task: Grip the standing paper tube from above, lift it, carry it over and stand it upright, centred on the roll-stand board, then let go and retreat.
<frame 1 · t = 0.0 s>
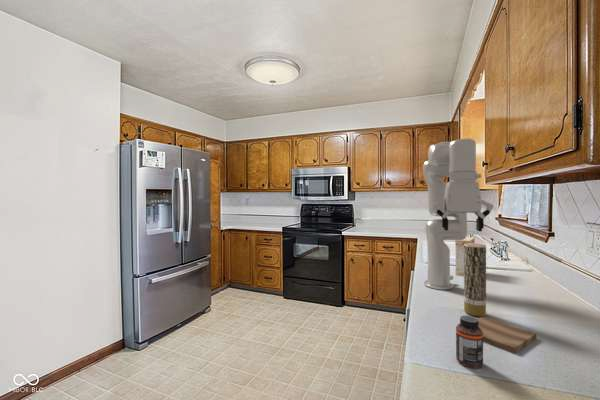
hand: (462, 230, 94), 31 cm above the worktop, tool pointing down, fingers open, 9 cm apart
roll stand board: (496, 335, 88), on the worktop
supplement bottle: (469, 363, 73), on the worktop
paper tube: (474, 314, 105), on the worktop
coffeecake box: (465, 273, 160), on the worktop
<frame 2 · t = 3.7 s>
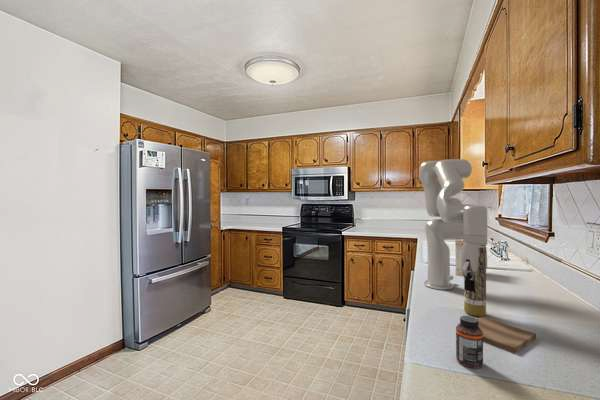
hand: (474, 288, 105), 9 cm above the worktop, tool pointing down, fingers closed on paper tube, 6 cm apart
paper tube: (474, 314, 105), on the worktop, touching gripper
everything else where it was.
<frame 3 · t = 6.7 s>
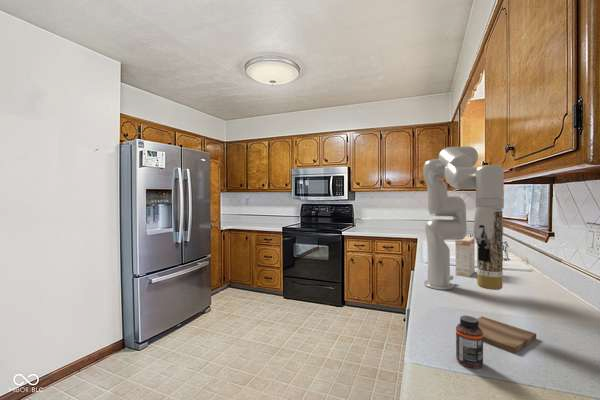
hand: (489, 259, 93), 22 cm above the worktop, tool pointing down, fingers closed on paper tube, 6 cm apart
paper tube: (489, 288, 93), point 13 cm above the worktop, touching gripper
everything else where it was.
when the fingers open (11 cm above the worktop, at t = 10.1 s): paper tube stays where it is, resting on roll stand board.
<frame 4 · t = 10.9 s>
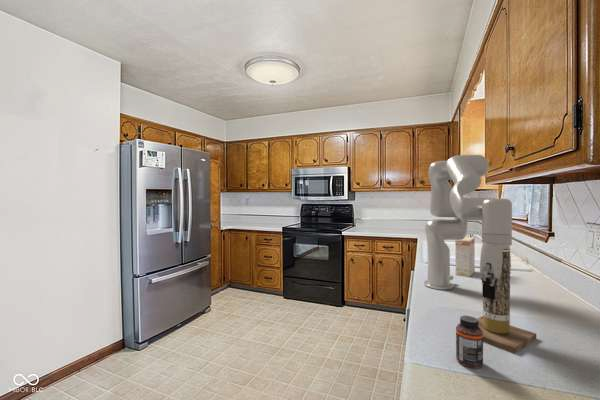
hand: (496, 295, 88), 12 cm above the worktop, tool pointing down, fingers open, 9 cm apart
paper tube: (496, 330, 88), point 1 cm above the worktop, touching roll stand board
everything else where it was.
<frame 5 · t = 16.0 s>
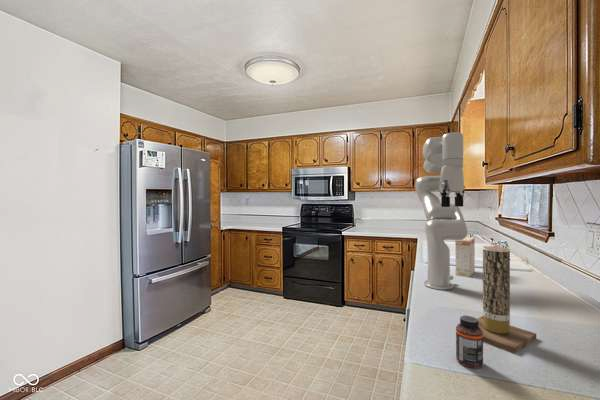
hand: (452, 206, 116), 38 cm above the worktop, tool pointing down, fingers open, 9 cm apart
nothing on the worktop moved.
at the end: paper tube 0.3 cm off-centre on the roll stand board, point 1.3 cm above the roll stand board's base; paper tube tilted 0°; the gripper is holding nothing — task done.
